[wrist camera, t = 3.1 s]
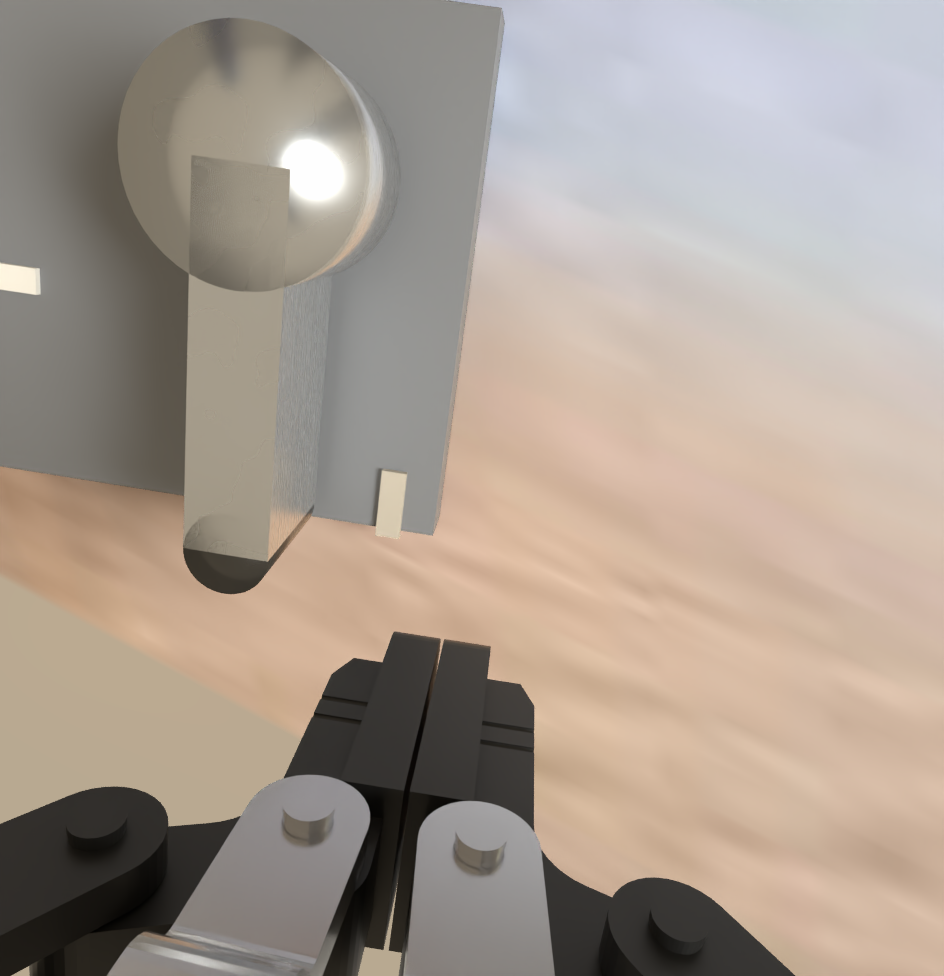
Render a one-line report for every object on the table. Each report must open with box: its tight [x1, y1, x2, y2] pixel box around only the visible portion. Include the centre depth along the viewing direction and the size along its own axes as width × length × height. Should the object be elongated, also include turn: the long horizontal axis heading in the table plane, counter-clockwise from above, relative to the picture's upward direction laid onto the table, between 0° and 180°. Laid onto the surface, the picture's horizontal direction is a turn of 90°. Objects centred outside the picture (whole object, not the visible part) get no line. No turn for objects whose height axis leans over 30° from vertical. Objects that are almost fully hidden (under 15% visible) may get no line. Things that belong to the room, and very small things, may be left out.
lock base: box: [0, 0, 505, 539], centre depth 22 cm, size 14×14×2 cm
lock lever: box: [117, 18, 401, 594], centre depth 19 cm, size 12×5×4 cm, turn 172°
